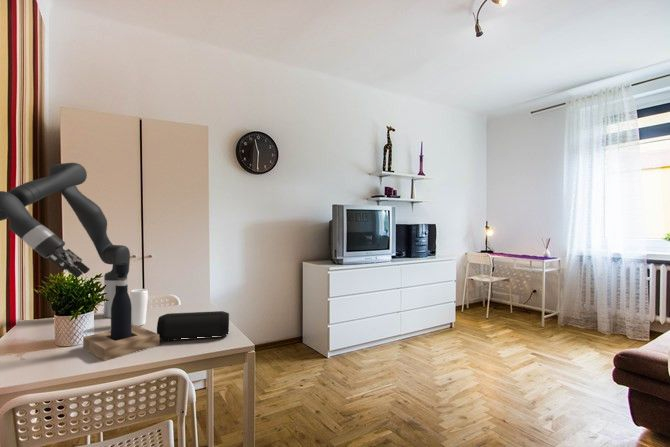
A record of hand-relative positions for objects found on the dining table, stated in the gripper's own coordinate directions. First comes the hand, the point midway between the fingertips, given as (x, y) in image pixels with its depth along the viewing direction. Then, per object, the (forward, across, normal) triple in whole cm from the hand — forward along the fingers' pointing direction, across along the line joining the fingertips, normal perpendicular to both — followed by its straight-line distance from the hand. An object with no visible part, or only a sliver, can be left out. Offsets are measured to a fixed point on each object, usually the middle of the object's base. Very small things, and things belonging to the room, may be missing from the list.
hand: (84, 273), depth 124 cm
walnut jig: (+27, -2, +10) cm, 29 cm away
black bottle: (+27, -2, +11) cm, 29 cm away
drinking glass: (+29, +25, +10) cm, 40 cm away
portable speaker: (+45, +1, -6) cm, 45 cm away
